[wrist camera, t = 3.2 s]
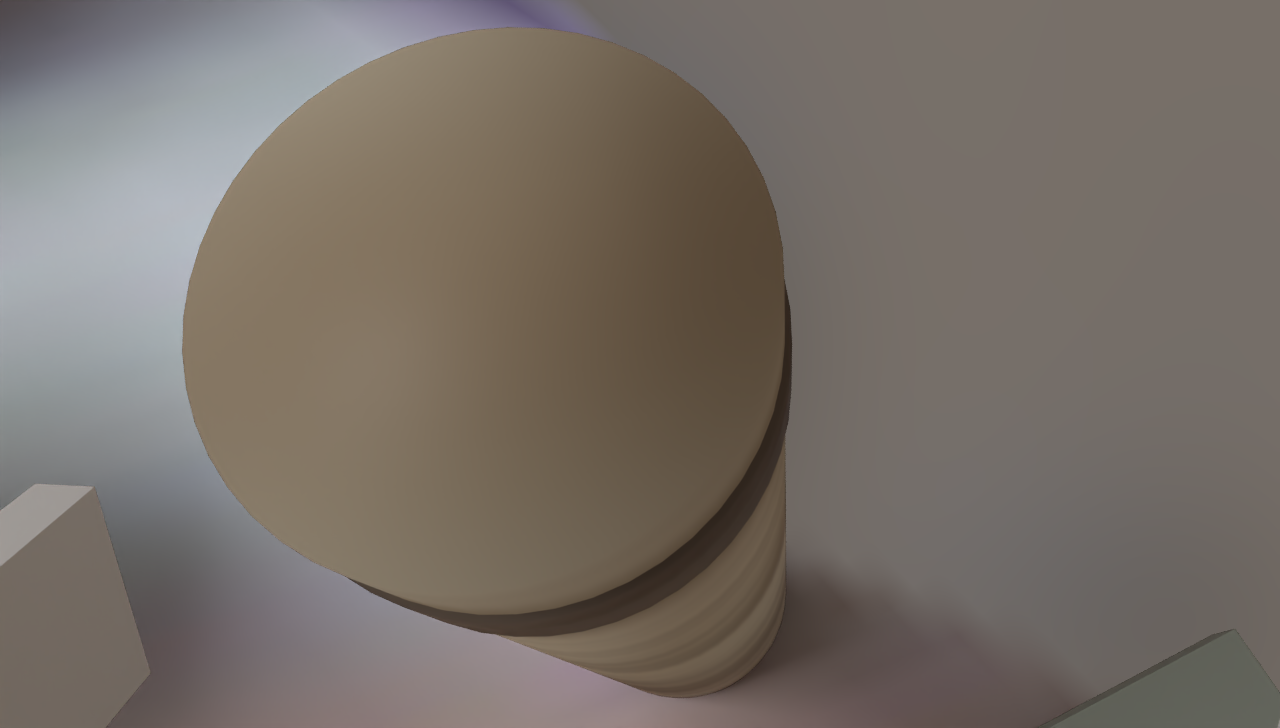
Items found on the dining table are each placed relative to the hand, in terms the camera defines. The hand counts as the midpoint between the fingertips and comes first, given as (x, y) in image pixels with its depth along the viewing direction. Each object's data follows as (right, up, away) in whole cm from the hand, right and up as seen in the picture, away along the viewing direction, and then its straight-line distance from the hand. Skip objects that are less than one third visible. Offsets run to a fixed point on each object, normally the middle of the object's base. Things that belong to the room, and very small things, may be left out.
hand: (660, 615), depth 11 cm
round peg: (+1, -1, +8) cm, 8 cm away
